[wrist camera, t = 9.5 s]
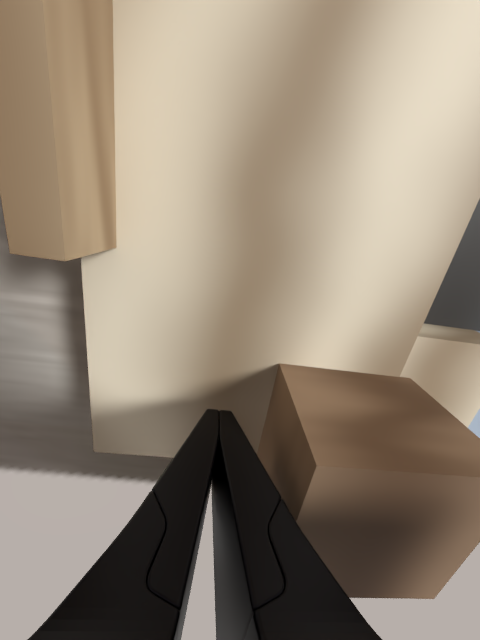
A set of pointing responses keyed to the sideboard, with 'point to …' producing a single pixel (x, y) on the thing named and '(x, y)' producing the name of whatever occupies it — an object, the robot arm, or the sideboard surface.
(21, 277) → the sideboard surface
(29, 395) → the sideboard surface
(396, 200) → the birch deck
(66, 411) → the sideboard surface
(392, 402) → the walnut block
